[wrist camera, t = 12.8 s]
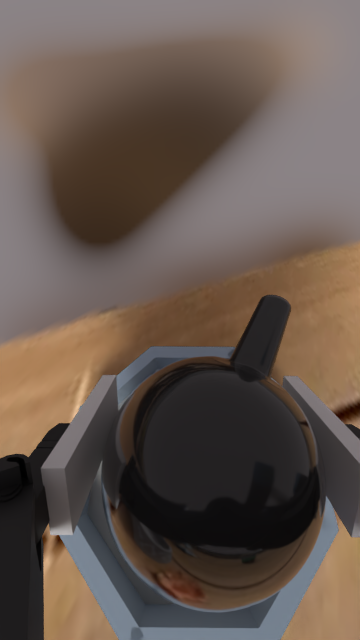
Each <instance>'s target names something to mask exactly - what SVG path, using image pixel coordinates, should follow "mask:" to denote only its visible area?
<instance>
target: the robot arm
mask: <svg viewBox="0 0 360 640" xmlns="http://www.w3.org/2000/svg"><path fill="white" fill-rule="evenodd" d="M283 388H284V389H285V390H286V391H287V392H288V393H289V394H290V395H291V396H292V397H293V399H294V400H295V401H296V402H297V403H298V405H299V406H300V407H301V409H302V410H303V412H304V413H305V415H306V417H307V418H308V420H309V422H310V424H311V426H312V428H313V430H314V433H315V435H316V438H317V440H318V443H319V446H320V450H321V454H322V458H323V462H324V468H325V476H326V496H327V498H328V500H329V501H330V503H331V504H332V506H333V508H334V509H335V511H336V513H337V514H338V516H339V518H340V519H341V521H342V522H343V524H344V526H345V527H346V529H347V531H348V532H349V534H350V536H351V537H360V429H358V428H357V427H355V426H354V425H352V424H344V423H343V422H342V421H341V420H340V419H339V418H338V417H337V416H336V415H335V414H334V413H333V412H332V411H331V410H330V409H329V408H328V407H327V406H326V405H325V404H324V403H323V402H322V401H321V400H320V399H319V398H318V397H317V396H316V395H315V394H314V393H313V392H312V391H311V390H310V389H309V388H308V387H307V386H306V385H305V384H304V383H303V382H302V381H301V379H300V378H299V377H298V376H284V378H283ZM117 413H118V396H117V379H116V375H103V376H102V377H101V379H100V380H99V382H98V383H97V385H96V386H95V388H94V389H93V391H92V392H91V394H90V395H89V397H88V398H87V400H86V401H85V403H84V404H83V406H82V407H81V409H80V410H79V412H78V413H77V414H76V416H75V417H74V419H73V420H72V422H71V423H59V424H58V425H56V426H55V427H53V428H52V429H51V430H49V431H48V433H47V434H46V435H45V437H44V438H43V439H42V442H40V443H39V444H38V446H37V447H36V449H35V450H34V451H33V452H32V453H31V455H30V456H29V457H27V456H25V455H24V454H13V455H8V456H5V457H3V458H0V640H44V602H43V540H42V535H43V533H44V531H45V529H46V527H47V525H48V523H49V527H50V534H51V535H73V533H74V531H75V528H76V526H77V523H78V521H79V518H80V516H81V513H82V510H83V508H84V505H85V503H86V500H87V498H88V495H89V492H90V490H91V487H92V485H93V482H94V480H95V477H96V475H97V472H98V469H99V467H100V464H101V462H102V459H103V453H104V448H105V444H106V441H107V437H108V434H109V431H110V428H111V426H112V424H113V421H114V419H115V417H116V415H117Z"/></svg>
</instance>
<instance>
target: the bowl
mask: <svg viewBox="0 0 360 640" xmlns="http://www.w3.org/2000/svg"><path fill="white" fill-rule="evenodd" d="M234 350H235V347H171V346H151V347H150V348H149V349H148V350H146V351H145V352H144V353H143V354H142V355H140V356H139V357H138V358H137V359H136V360H135V361H133V362H132V363H131V364H130V365H129V366H127V367H126V368H125V369H124V370H123V371H122V372H120V373H119V374H118V375H117V376H116V379H117V396H118V411H119V410H120V408H121V406H122V405H123V403H124V402H125V400H126V399H127V398H128V396H129V395H130V394H131V393H132V391H133V390H134V389H135V388H136V387H137V386H138V385H139V384H140V383H141V382H142V381H143V380H145V379H146V378H147V377H148V376H150V375H151V374H152V373H154V372H155V371H157V370H159V369H160V368H162V367H164V366H166V365H168V364H171V363H173V362H176V361H179V360H182V359H187V358H192V357H200V356H216V357H221V358H226V359H230V357H231V356H232V354H233V352H234ZM271 379H272V378H271ZM272 380H274V379H272ZM274 381H275V380H274ZM275 382H276V381H275ZM278 384H279V383H278ZM279 385H280V384H279ZM82 406H83V405H82ZM82 406H80V409H81V407H82ZM80 409H79V410H80ZM101 467H102V462H101V464H100V467H99V469H98V472H97V475H96V477H95V480H94V482H93V485H92V487H91V490H90V492H89V495H88V498H87V500H86V503H85V505H84V508H83V510H82V513H81V516H80V518H79V521H78V523H77V526H76V528H75V531H74V533H73V535H59V536H60V537H61V539H62V541H63V543H64V544H65V546H66V548H67V550H68V551H69V553H70V555H71V557H72V558H73V560H74V562H75V564H76V565H77V567H78V569H79V571H80V572H81V574H82V576H83V578H84V579H85V581H86V583H87V585H88V586H89V588H90V590H91V592H92V593H93V595H94V597H95V599H96V600H97V602H98V604H99V605H100V607H101V609H102V611H103V612H104V614H105V616H106V618H107V619H108V621H109V623H110V625H111V626H112V628H113V630H114V632H115V633H116V635H117V637H118V639H119V640H280V639H281V637H282V635H283V634H284V632H285V630H286V628H287V626H288V624H289V622H290V620H291V619H292V617H293V615H294V613H295V611H296V609H297V607H298V605H299V604H300V602H301V600H302V598H303V596H304V594H305V592H306V590H307V589H308V587H309V585H310V583H311V581H312V579H313V577H314V576H315V574H316V572H317V570H318V568H319V566H320V564H321V562H322V561H323V559H324V557H325V555H326V553H327V551H328V549H329V547H330V546H331V544H332V542H333V540H334V538H335V536H336V534H337V532H338V531H339V529H338V525H337V521H336V517H335V513H334V509H333V506H332V504H331V503H330V501H329V500H328V498H327V496H326V504H325V512H324V518H323V522H322V526H321V530H320V533H319V536H318V539H317V541H316V544H315V546H314V548H313V550H312V552H311V554H310V556H309V558H308V559H307V561H306V563H305V564H304V566H303V567H302V568H301V570H300V571H299V572H298V574H297V575H296V576H295V577H294V578H293V579H292V580H291V581H290V582H289V583H288V584H287V585H286V586H285V587H284V588H283V589H282V590H280V591H279V592H278V593H276V594H275V595H273V596H272V597H270V598H268V599H267V600H265V601H263V602H261V603H259V604H257V605H254V606H251V607H248V608H245V609H242V610H237V611H232V612H223V613H209V612H199V611H194V610H190V609H187V608H183V607H181V606H178V605H176V604H173V603H171V602H169V601H167V600H166V599H164V598H162V597H160V596H159V595H158V594H156V593H155V592H153V591H152V590H151V589H149V588H148V587H147V586H146V585H145V584H144V583H143V582H142V581H141V580H140V579H139V578H138V577H137V576H136V575H135V574H134V573H133V572H132V570H131V569H130V568H129V566H128V565H127V564H126V562H125V561H124V559H123V558H122V556H121V554H120V553H119V551H118V549H117V547H116V545H115V543H114V541H113V538H112V536H111V534H110V531H109V528H108V525H107V521H106V518H105V514H104V509H103V503H102V495H101Z"/></svg>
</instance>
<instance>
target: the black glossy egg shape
mask: <svg viewBox="0 0 360 640" xmlns="http://www.w3.org/2000/svg"><path fill="white" fill-rule="evenodd" d="M290 312H291V305H290V303H289V302H288V301H287V300H286V299H284V298H282V297H280V296H277V295H266V296H264V297H262V298H261V299H260V301H259V303H258V305H257V307H256V309H255V311H254V313H253V315H252V317H251V319H250V321H249V323H248V325H247V327H246V329H245V331H244V333H243V334H242V336H241V338H240V340H239V342H238V344H237V346H236V348H235V350H234V352H233V354H232V356H231V357H230V359H226V358H221V357H216V356H200V357H192V358H187V359H182V360H179V361H176V362H173V363H171V364H168V365H166V366H164V367H162V368H160V369H159V370H157V371H155V372H154V373H152V374H151V375H150V376H148V377H147V378H146V379H145V380H143V381H142V382H141V383H140V384H139V385H138V386H137V387H136V388H135V389H134V390H133V391H132V393H131V394H130V395H129V396H128V398H127V399H126V400H125V402H124V403H123V405H122V406H121V408H120V410H119V411H118V413H117V415H116V417H115V419H114V421H113V424H112V426H111V428H110V431H109V434H108V437H107V441H106V444H105V448H104V453H103V459H102V467H101V495H102V503H103V509H104V514H105V518H106V521H107V525H108V528H109V531H110V534H111V536H112V538H113V541H114V543H115V545H116V547H117V549H118V551H119V553H120V554H121V556H122V558H123V559H124V561H125V562H126V564H127V565H128V566H129V568H130V569H131V570H132V572H133V573H134V574H135V575H136V576H137V577H138V578H139V579H140V580H141V581H142V582H143V583H144V584H145V585H146V586H147V587H148V588H149V589H151V590H152V591H153V592H155V593H156V594H158V595H159V596H160V597H162V598H164V599H166V600H167V601H169V602H171V603H173V604H176V605H178V606H181V607H183V608H187V609H190V610H194V611H199V612H209V613H223V612H232V611H237V610H242V609H245V608H248V607H251V606H254V605H257V604H259V603H261V602H263V601H265V600H267V599H268V598H270V597H272V596H273V595H275V594H276V593H278V592H279V591H280V590H282V589H283V588H284V587H285V586H286V585H287V584H288V583H289V582H290V581H291V580H292V579H293V578H294V577H295V576H296V575H297V574H298V572H299V571H300V570H301V568H302V567H303V566H304V564H305V563H306V561H307V559H308V558H309V556H310V554H311V552H312V550H313V548H314V546H315V544H316V541H317V539H318V536H319V533H320V530H321V526H322V522H323V518H324V512H325V504H326V476H325V468H324V462H323V458H322V454H321V450H320V446H319V443H318V440H317V438H316V435H315V433H314V430H313V428H312V426H311V424H310V422H309V420H308V418H307V417H306V415H305V413H304V412H303V410H302V409H301V407H300V406H299V405H298V403H297V402H296V401H295V400H294V399H293V397H292V396H291V395H290V394H289V393H288V392H287V391H286V390H285V389H284V388H283V387H282V386H281V385H279V384H278V383H277V382H275V381H274V380H272V379H271V373H272V370H273V366H274V363H275V360H276V357H277V353H278V350H279V347H280V344H281V341H282V337H283V334H284V331H285V328H286V325H287V321H288V318H289V315H290Z"/></svg>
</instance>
